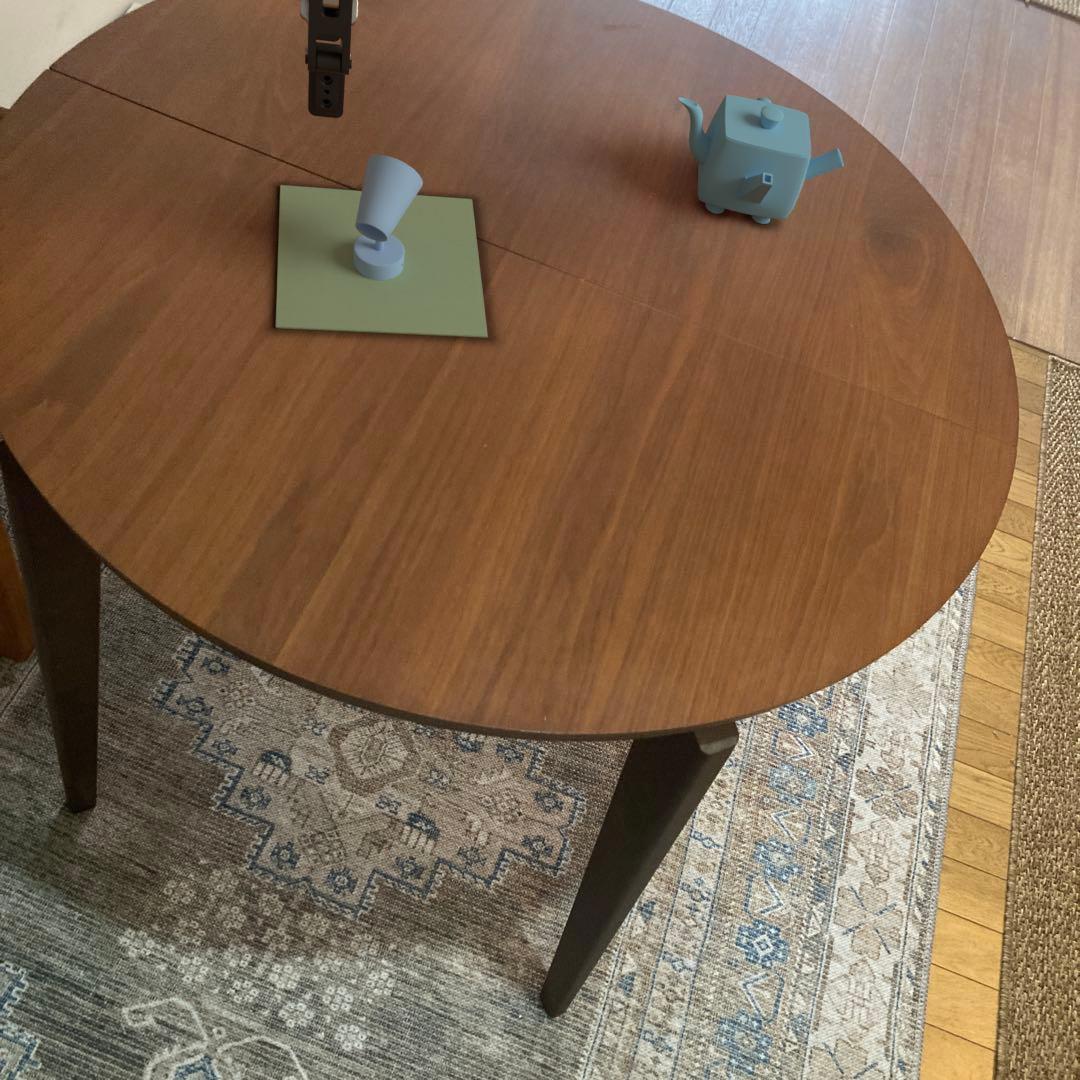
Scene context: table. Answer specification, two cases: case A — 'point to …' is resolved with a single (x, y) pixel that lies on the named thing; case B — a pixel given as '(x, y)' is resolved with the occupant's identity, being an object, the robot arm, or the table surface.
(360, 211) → the spotlight
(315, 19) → the robot arm
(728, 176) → the teapot
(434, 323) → the mat
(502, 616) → the table surface
